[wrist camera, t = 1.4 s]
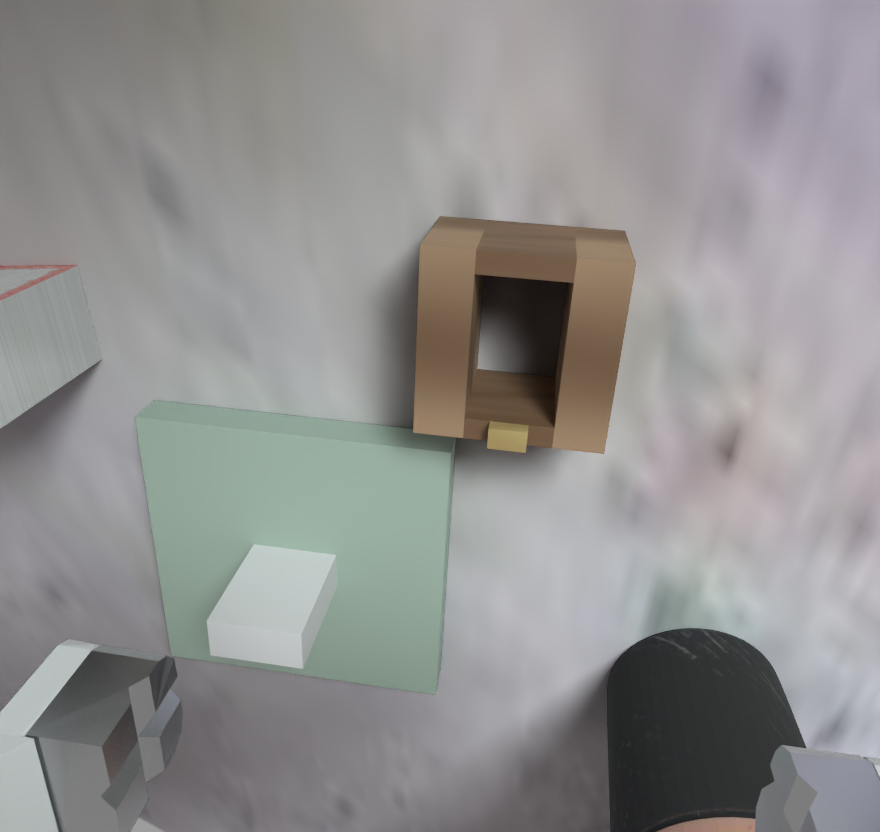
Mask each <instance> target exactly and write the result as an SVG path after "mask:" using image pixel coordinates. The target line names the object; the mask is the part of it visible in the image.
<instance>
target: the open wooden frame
mask: <svg viewBox="0 0 880 832" xmlns="http://www.w3.org/2000/svg"><path fill="white" fill-rule="evenodd" d="M635 267H636V261H635V259H634V256H633V253H632V250H631V247H630V244H629V241H628V238H627V236H626V233H625V231H619V230H606V229H593V228H581V227H568V226H556V225H543V224H530V223H518V222H505V221H493V220H480V219H467V218H455V217H442V216H440V217H439V219H438V220H437V222H436V223H435V224H434V226H433V227H432V229H431V230H430V231H429V233H428V234H427V236H426V237H425V239H424V240H423V241H422V243H421V244H420V255H419V283H418V311H417V339H416V367H415V394H414V422H413V433H421V434H430V435H439V436H448V437H457V438H466V439H475V440H484V441H487V449H495V450H504V451H513V452H522V453H526V446H527V445H529V446H538V447H547V448H556V449H565V450H574V451H583V452H592V453H601V454H604V450H605V444H606V439H607V433H608V427H609V421H610V415H611V409H612V403H613V397H614V391H615V385H616V379H617V373H618V367H619V362H620V356H621V350H622V344H623V338H624V332H625V326H626V320H627V314H628V308H629V302H630V296H631V290H632V285H633V279H634V273H635ZM484 275H488V276H500V277H511V278H523V279H534V280H546V281H557V282H568V283H567V291H566V299H565V306H564V314H563V322H562V330H561V338H560V345H559V353H558V361H557V369H556V377H550V376H540V375H530V374H520V373H510V372H500V371H490V370H481V369H477V364H478V351H479V338H480V325H481V311H482V298H483V285H484Z"/></svg>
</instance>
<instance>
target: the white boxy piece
mask: <svg viewBox="0 0 880 832" xmlns="http://www.w3.org/2000/svg"><path fill="white" fill-rule="evenodd" d="M100 360H102V357H101V353H100V349H99V345H98V342H97V338H96V334H95V330H94V327H93V323H92V319H91V315H90V311H89V308H88V304H87V300H86V296H85V293H84V289H83V285H82V281H81V277H80V274H79V270H78V266H77V265H60V266H0V428H2V427H4V426H5V425H7V424H8V423H10V422H11V421H12V420H14V419H15V418H17V417H18V416H20V415H21V414H23V413H24V412H26V411H27V410H29V409H30V408H31V407H33V406H34V405H36V404H37V403H39V402H40V401H42V400H43V399H45V398H46V397H47V396H49V395H50V394H52V393H53V392H55V391H56V390H58V389H59V388H61V387H62V386H64V385H65V384H66V383H68V382H69V381H71V380H72V379H74V378H75V377H77V376H78V375H80V374H81V373H83V372H84V371H85V370H87V369H88V368H90V367H91V366H93V365H94V364H96V363H97V362H99V361H100Z"/></svg>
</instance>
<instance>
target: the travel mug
mask: <svg viewBox="0 0 880 832" xmlns="http://www.w3.org/2000/svg"><path fill="white" fill-rule="evenodd" d="M607 728H608V762H609V795H610V828H611V832H755V819H756V806H757V803H758V799H759V796H760V793H761V789H762V788H764V787H766V786H767V785H769V784H771V783H772V782H774V777H773V774H772V770H771V767H770V764H771V761H772V758H773V756H774V753H775V751H776V750H777V749H778V748H779V747H780V746H781V745H785V746H792V747H800V748H806V746H805V743H804V741H803V738H802V736H801V733H800V731H799V728H798V725H797V723H796V720H795V718H794V715H793V713H792V710H791V707H790V705H789V703H788V700H787V698H786V695H785V693H784V690H783V688H782V686H781V683H780V681H779V679H778V676H777V674H776V672H775V670H774V668H773V667H772V665H771V664H770V662H769V661H768V660H767V659H766V658H765V657H764V656H763V654H762V653H761V652H759V651H758V650H757V649H756V648H755V647H753V646H752V645H750V644H749V643H747V642H745V641H744V640H741V639H739V638H737V637H735V636H732V635H729V634H726V633H723V632H719V631H714V630H707V629H677V630H672V631H666V632H663V633H659V634H656V635H653V636H651V637H648V638H646V639H644V640H642V641H640V642H638V643H637V644H635V645H634V646H632V647H631V648H630V649H628V650H627V651H626V652H625V653H624V654H623V655H622V656H621V657H620V659H619V660H618V661H617V662H616V664H615V666H614V667H613V669H612V672H611V674H610V677H609V681H608V686H607Z"/></svg>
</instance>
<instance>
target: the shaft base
mask: <svg viewBox="0 0 880 832" xmlns="http://www.w3.org/2000/svg"><path fill="white" fill-rule="evenodd" d="M135 423H136V429H137V436H138V442H139V449H140V455H141V462H142V468H143V475H144V482H145V488H146V495H147V501H148V508H149V514H150V521H151V527H152V534H153V540H154V547H155V554H156V560H157V567H158V573H159V580H160V586H161V593H162V599H163V606H164V612H165V619H166V626H167V632H168V639H169V645H170V652H171V656H176V657H183V658H189V659H196V660H203V661H210V662H216V663H223V664H230V665H236V666H243V667H250V668H257V669H263V670H270V671H277V672H284V673H290V674H297V675H304V676H311V677H317V678H324V679H331V680H338V681H344V682H351V683H358V684H364V685H371V686H378V687H385V688H391V689H398V690H405V691H412V692H418V693H425V694H432V695H436V692H437V686H438V681H439V676H440V671H441V658H442V643H443V627H444V612H445V597H446V582H447V566H448V551H449V536H450V521H451V505H452V490H453V475H454V459H455V444H456V437H448V436H439V435H430V434H421V433H413V429H410V428H401V427H392V426H383V425H374V424H364V423H355V422H346V421H337V420H328V419H319V418H310V417H301V416H292V415H283V414H274V413H265V412H256V411H247V410H238V409H229V408H220V407H210V406H201V405H192V404H183V403H174V402H165V401H156V400H154V401H153V402H151V403H150V404H149V405H148V406H147V407H146V408H144V409H143V410H142V411H141V412H140V413H139V414H138V415H136V416H135Z"/></svg>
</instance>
